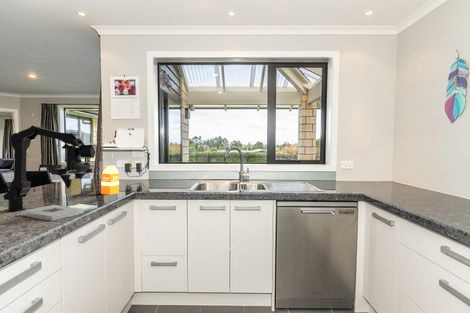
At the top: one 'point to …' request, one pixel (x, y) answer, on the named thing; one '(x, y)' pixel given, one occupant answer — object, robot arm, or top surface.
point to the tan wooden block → (73, 186)
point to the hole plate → (52, 212)
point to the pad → (83, 206)
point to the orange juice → (110, 180)
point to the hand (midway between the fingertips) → (72, 187)
